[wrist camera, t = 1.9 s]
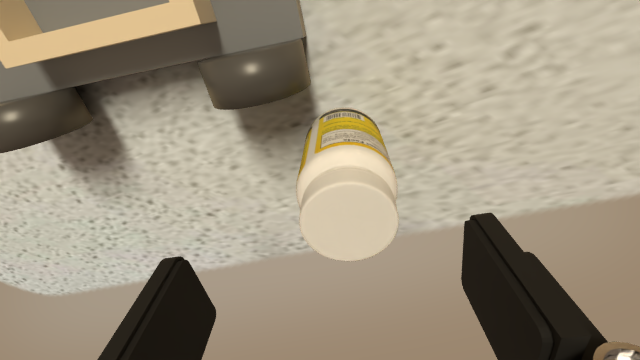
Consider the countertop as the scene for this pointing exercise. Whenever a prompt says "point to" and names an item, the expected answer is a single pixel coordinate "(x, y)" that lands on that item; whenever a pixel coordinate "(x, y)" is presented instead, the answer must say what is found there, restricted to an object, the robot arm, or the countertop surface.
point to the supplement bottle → (346, 187)
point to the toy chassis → (139, 55)
